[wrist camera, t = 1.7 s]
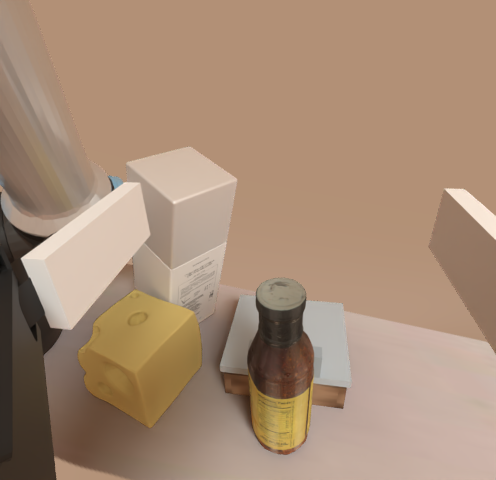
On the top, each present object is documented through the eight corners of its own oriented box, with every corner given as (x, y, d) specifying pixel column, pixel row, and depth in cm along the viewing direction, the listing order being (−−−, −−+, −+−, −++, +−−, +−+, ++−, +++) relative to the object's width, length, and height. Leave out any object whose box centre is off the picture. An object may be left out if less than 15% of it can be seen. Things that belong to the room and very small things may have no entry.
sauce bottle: (273, 393, 41) (275, 257, 31) (319, 424, 37) (338, 282, 27) (238, 435, 37) (227, 293, 27) (286, 475, 33) (294, 329, 23)
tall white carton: (181, 279, 58) (190, 145, 41) (214, 313, 54) (239, 178, 37) (135, 305, 52) (124, 161, 36) (168, 344, 48) (173, 203, 32)
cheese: (88, 396, 41) (64, 337, 36) (150, 337, 50) (136, 283, 45) (152, 435, 37) (134, 375, 32) (208, 364, 45) (200, 307, 40)
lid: (220, 371, 39) (217, 346, 37) (240, 299, 50) (239, 277, 48) (350, 387, 37) (355, 361, 35) (342, 308, 48) (345, 285, 46)
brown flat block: (225, 392, 41) (223, 373, 39) (244, 318, 52) (243, 301, 50) (342, 408, 39) (346, 389, 37) (336, 328, 50) (339, 310, 48)
